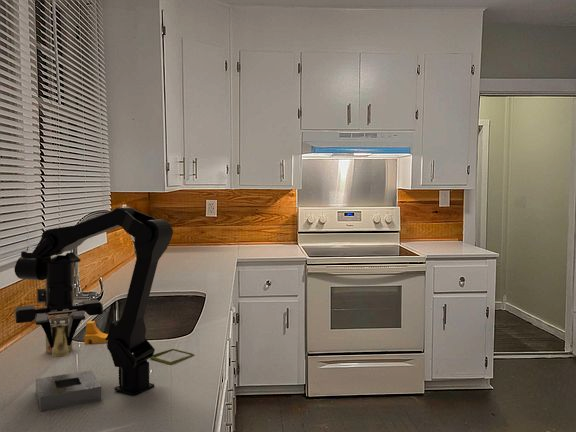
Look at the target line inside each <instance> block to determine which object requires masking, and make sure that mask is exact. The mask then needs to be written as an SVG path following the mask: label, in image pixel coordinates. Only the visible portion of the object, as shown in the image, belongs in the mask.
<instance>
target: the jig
mask: <svg viewBox="0 0 576 432" xmlns="http://www.w3.org/2000/svg"><path fill="white" fill-rule="evenodd" d="M35 394H36V398H37V403H38V406H39V410H40V412H45V411H51V410H56V409H61V408H66V407H71V406H77V405H81V404H82V405H83V404H88V403H92V402H99V401H102V385H101V384H100V382H99V380H98V379H97V377H96V375H95V374H94V372H93V370H92V369H90V370H85V371H77V372H73V373H67V374H66V373H65V374H59V375H53V376H47V377H40V378H35Z"/></svg>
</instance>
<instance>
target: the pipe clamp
mask: <svg viewBox="0 0 576 432" xmlns="http://www.w3.org/2000/svg"><path fill="white" fill-rule="evenodd" d="M85 329H86V331H85V333H86V334H85V335H84V336H83V337H84V345H88V344H107V342H108V340H105V339H106V337H107V336H108V333H104V332H102V331H101V330H100V329H99V328H98V327H97V325H96V320H88V321H87V322H86V323H85Z"/></svg>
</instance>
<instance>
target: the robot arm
mask: <svg viewBox="0 0 576 432" xmlns="http://www.w3.org/2000/svg"><path fill="white" fill-rule="evenodd" d="M120 227H121V228H122V230H124V231H125V232H126V233H127V234H128V235H130V236H132V237H133V238H134V241H133V242H134V243H133V245H134V251H135V254H136V260H135V262H134V263H135V264H134V268H133V271H132V275H131V279H130V283H129V285H128V286H129V287H128V290H127V291H128V292H127V295H126V299H125V302H124V303H125V304H124V307H123V310H122V314H121V317H120V319H117V320H115V321H112V322H110V323H109V327H108V333H107V334H108V336H107V337H106V339H105V340H108V342H107V343H106V347H107V348H106V349H107V350H108V351H109V353H110V357H111V358H112V361H113V365H114V367H115V368H118V385H117V386H114V388H113V390H114V391H117V392H120V393H125V394H126V395H131V396H136V395H138V394H141V393H143V392H145V391H148V390H149V389H152V388H154V387H155V383H151V382H150V362H149V361H148V360H149V359H151V358H152V357H153V354H154V353H155V350H156V349H155V348H154V346H153V345H152V344H151V343H150V341H148V339H147V338H146V333H147V332H146V331H147V330H146V329H147V327H146V325H145V320H144V317H145V315H146V314H145V313H146V311H147V306H148V302H149V298H150V294H151V290H152V286H153V282H154V279H155V274H156V271H157V267H158V263H159V260H160V259H161V257H162V256H163V255H164V254H165V252H166V250H167V249H168V247H169V244H170V243H171V240H172V238H173V236H174V230H173V228H172V225H171V224H170V223H169V222H168V221H167V220H166V219H162V218H161V219H160V218H159V219H157V218H155V217H153V216H151V215H148V214H146V213H143V212H140V211H138V210H136V209H135V208H133V207H132V206H117V207H115V208H114V209H112V210H110V211H108V212H105V213H103V214H98V215H97V216H95V217H92V218H90V219H87V220H84V221H82V222H79V223H76V224H73V225H68V226H60V227H55V228H48V229H46V230H44V231H43V232H42V234H41V237H40V240H39V242H38V243H37V245H36V246H35V248H34V250H33V251H32V250H25V251H21V252H20V257H19V258H18V259H17V261H16V262H15V266H14V273H15V276H16V277H17V278H18V279H20V280H29V281H44V280H45V288H37V290H36V300H37V301H36V303H37V304H41V303H43V304H44V306H45V307H40V308H35V306H34V304H30V305H21V306H17V307H15V309H14V319H15V323H16V324H23V323H32V322H33V321H34V323H35V325H36V326H39V325H40V326H41V327H42V329H43V331H44V333H45V334H44V335H45V337H46V336H47V339H48V342H49V345H50V347H51V348H53V340H52V333H51V326H50V323H51V321H50V319H49V316H50V317H51V316H56V315H59V316H60V315H66V314H67V315H68V314H69V315H68V316H69V319H68V320H69V330H68V346H70V345H71V342H72V343H73V339H74V336H75V334H76V331H77V329H78V327H79V326H80V323H81V322H82V321H84V320H86V316H85V313H86V314H87V315H88V316H98V315H103V314H104V305H103V303H102V302H101V301H100V300H99V299H87V300H86V299H85V300H82V303H81V304H73V303H74V301H73V300H74V299H73V264H75V263H79V262H81V258H79V257H78V256H77V255H76V254H75V253H74V252H73V250H74V249H76V248H78V247H79V246H81V245H82V244H83V243H84V242H85V241H86V240H88V239H91V238H93V237H96V236H98V235H101V234H104V233H107V232H109V231H112V230H114V229H118V228H120ZM71 251H72V252H71ZM65 252H67V253H65ZM64 253H65V255H63V254H64ZM52 256H53V257H52Z"/></svg>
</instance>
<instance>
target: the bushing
mask: <svg viewBox="0 0 576 432" xmlns="http://www.w3.org/2000/svg"><path fill="white" fill-rule="evenodd" d="M52 340H53V348H52V353H51V354H52V355H51V356H52V357H53V358H63V357H68V356H69V352H68V325H67V324H58V325H54V326H52Z"/></svg>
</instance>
